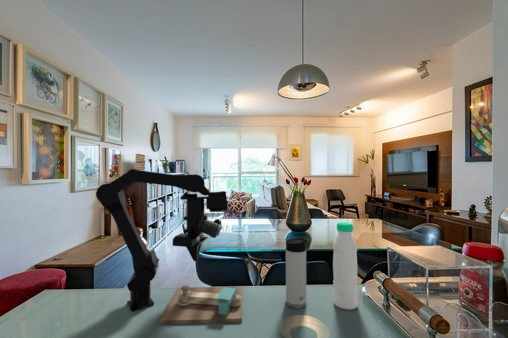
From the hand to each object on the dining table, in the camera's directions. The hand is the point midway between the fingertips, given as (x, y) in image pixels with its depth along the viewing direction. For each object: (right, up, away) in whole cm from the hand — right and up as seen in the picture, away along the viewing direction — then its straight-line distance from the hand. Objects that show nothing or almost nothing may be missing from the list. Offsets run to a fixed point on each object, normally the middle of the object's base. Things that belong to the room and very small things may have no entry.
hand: (195, 260), depth 82 cm
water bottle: (+47, -12, -4) cm, 49 cm away
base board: (+4, -12, -4) cm, 13 cm away
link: (+6, -10, -6) cm, 13 cm away
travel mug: (+32, -12, -4) cm, 35 cm away
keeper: (+4, -11, -7) cm, 14 cm away
